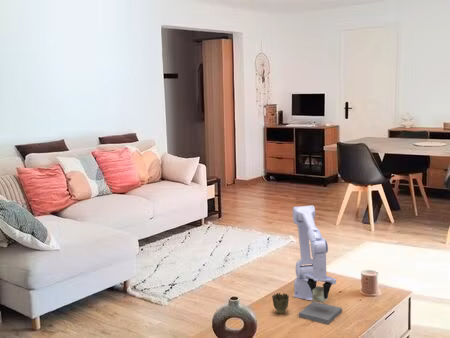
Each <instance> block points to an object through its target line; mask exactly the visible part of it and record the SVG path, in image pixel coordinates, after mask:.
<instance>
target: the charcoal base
mask: <svg viewBox="0 0 450 338" xmlns="http://www.w3.org/2000/svg"><path fill="white" fill-rule="evenodd" d="M342 309H343V308H342V307H339V306H335V305H331V304H326V303H321V302H317V301H312V302H311V303H309V304H308V305H307V306H306V307H304V308H303V309H302V310H300V311H299V312H298V318H302V319H306V320H309V321H313V322H317V323H322V324H324V325H325V324H326V325H329V324H331V323H332V322H333V321H334V320H335V319H336V318H337V317H339V315H341V313H343V310H342Z"/></svg>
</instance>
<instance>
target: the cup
mask: <svg viewBox="0 0 450 338" xmlns="http://www.w3.org/2000/svg"><path fill="white" fill-rule="evenodd" d="M271 298H272V305H273V308H274V309H275V310H276V313H278V314H279V315H283V314H285V313H286V310H287V309H288V307H289V298H290V296H289V294H287V293H283V294H281V293H280V292H277V293H274V294H272V296H271Z"/></svg>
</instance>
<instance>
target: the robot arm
mask: <svg viewBox="0 0 450 338" xmlns="http://www.w3.org/2000/svg"><path fill="white" fill-rule="evenodd" d="M315 217H316V209H315V206H314V204H312V205H304V206H303V205H302V206H301V205H299V206H293V207H292V221H293V224H295V225H296V226H297V230H298V231H297V232H298V241H299V251H300V252H299V254H300V258H299V260H298V261H296V262H295V276H296V277H295V279H294V282H293V284H294V285H293V290H294V295H293V298H297V299H302V300H307V301H313V291H312V290H313V289H314V288H316V287H317V282H323V284H322V287H323V288H324V299H326V298H328V299H329V293H330V289H331V288H332V285H336V284H337V279H336V278H334V277H332V276H328V275H327V253H328V252H329V245H328V244H329V243H328V242H327V240H326V239H325V238H323V235H322V233H321V231H320V229H319V228H318V227H316V223H315Z"/></svg>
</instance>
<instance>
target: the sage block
mask: <svg viewBox="0 0 450 338" xmlns="http://www.w3.org/2000/svg"><path fill="white" fill-rule="evenodd" d="M312 291H313V300H312V302H318V303H322V304H325V303H326V301H327V300H328V299H329V297H328V298H326V299H324V288H323V286H320V285H319V286H318V285H316V288H314V289H313V290H312Z"/></svg>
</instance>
